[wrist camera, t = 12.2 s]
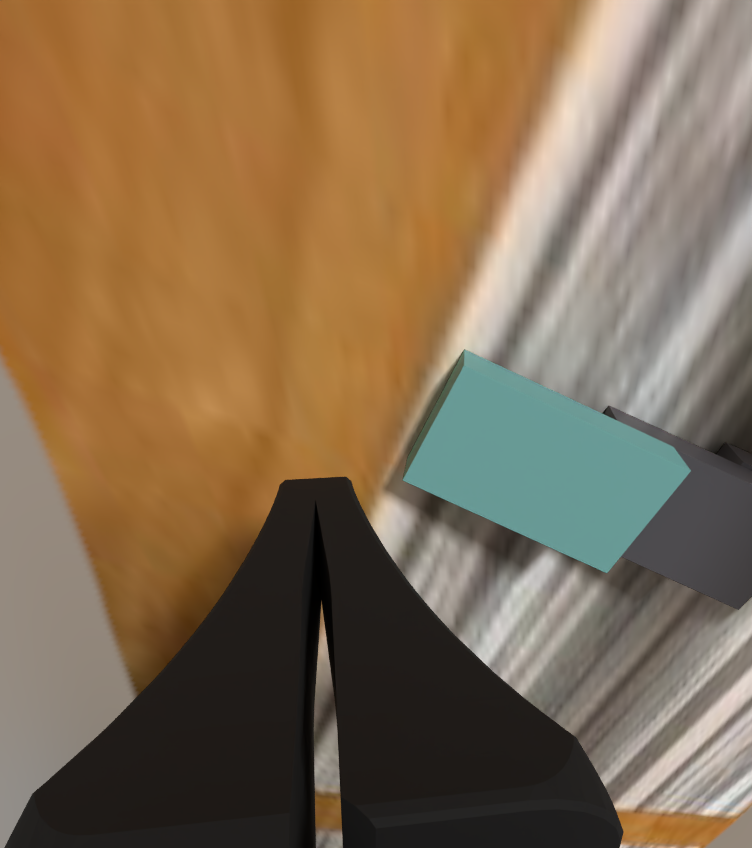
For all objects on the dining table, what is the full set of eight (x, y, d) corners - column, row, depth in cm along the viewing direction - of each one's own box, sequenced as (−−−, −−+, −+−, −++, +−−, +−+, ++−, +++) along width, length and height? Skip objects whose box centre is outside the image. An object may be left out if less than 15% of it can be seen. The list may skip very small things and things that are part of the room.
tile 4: (609, 405, 20) (802, 494, 20) (545, 500, 21) (721, 580, 22) (619, 424, 18) (827, 519, 18) (549, 524, 20) (738, 609, 20)
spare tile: (464, 349, 18) (673, 447, 18) (407, 457, 20) (596, 544, 20) (464, 365, 16) (691, 470, 17) (402, 480, 18) (606, 573, 19)
